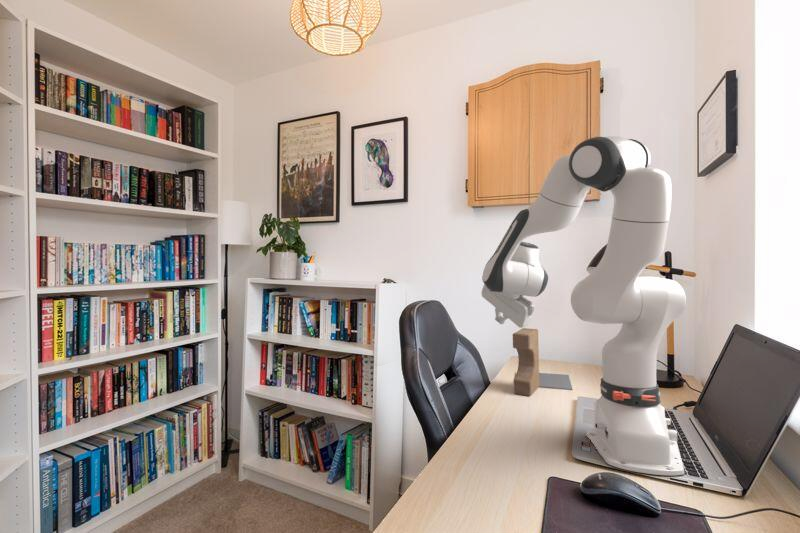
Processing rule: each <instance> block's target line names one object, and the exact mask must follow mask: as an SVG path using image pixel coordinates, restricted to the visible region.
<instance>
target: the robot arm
mask: <svg viewBox="0 0 800 533" xmlns="http://www.w3.org/2000/svg"><path fill="white" fill-rule="evenodd" d="M651 161H652V157H651V152H650V150H649V148H648V147H647V146H646V145H645V144H643V143H642V142H641V141H639V140H637V139H633V138H623V137H620V136H594V137H591V138H587V139H585V140H583V141H581V142H580V143H579V144H577V146H575V147H574V148H573V150H572V152H571V154H566V155H563V156H561V157H558V159H556V161H554V164H553V165H552V166H551V168H550V170H549V172H548V174H547V175H546V177H545V179H544V182H543V184H542V186H541V188H540V191H539V193H538V196H537V197H536V198H535V200H534V201H533V202H532V203H531V205H529V206H528V207H527V208H524V209H522V210H520V211H519V212H518V213H517V214H516V216H515V217H514V219H513V220H512V222H511V223H510V225H509V227H508V229H507V230H506V232H505V234H504V236H503V237H502V239H501V241H500V242H499V244H498V246H497V248H496V250H495V252H494V253H493V254H492V256H491V257H490V258H489V260H488V261H487V263H486V264H485V266H484V268H483V271H482V282H483V286H482V289H481V292H480V293H481V297H482V298H483V299H484V300H486V302H488V303H489V304H491V305H492V306H493V307H494V308H495V309H494V312H495V317H494V320H495V322H497V323H499V325H504V324H505V322H506V320H508V319H509V320H510V321H511V322H512V323H513V324H515V325H516V326H517V327H518V328H520V329H522V328H525V327H528V326H530V324H531V320H532V317H533V314H534V311H535V307H534V305H533V302H532V301H531V300H529V299H528V298H526V297H531V298H533V297H538V296H540V295H541V294H543V292H544V291H545V290H546V288H547V286H548V282H549V275H548V273H547V271H546V269H545V268H544V267H543V266H542V265H541V262H540V260H539V259H540V258H539V257H540V247H538V246H537V244H536V245H535V244H534V243H530V242H526V241H524V240H525V239H527V238H529V237H532V236H534V235H539V234H544V233H554V232H557V231H560V230H563V229H565V228H568V227H569V226H570V225H572V224H573V223H574V221H575V220H576V218H577V217H578V215H579V212H580V210H581V208H582V206H583V203H584V202H585V199H586V197H587V195H588V193H589V191H590V190H591V189H592V188H593V189H596V190H599V191H600V192H605V193H606V192H608V191H610V192H611V194H612V196H613V208H612V215H611V221H610V226H609V235H608V238H607V244H606V246H605V247H606V248H605V250H604V253H603V255H602V257H601V259H600V260H599V262H598V264H597V265H596V266H595V268H594V269H593V271H591V272H590V273H589V274H588V275H587V276H586V277H585V278H583V279H582V280H581V281H579V282H577V284H575V285H574V287H573V289H572V291H571V294H570V307H571V308H572V310H573V312H574V314H575V316H577V317H578V319H580V320H581V321H584V322H588V323H594V324H600V325H610V324H611V325H616V324H621V325H622V326H621V328H620V331H619V332H618V333H617V334H616V335H615V337H613V338H611V339H610V340H608V341H607V342H606V343H604V345H603V348H602V350H601V363H602V364H601V366H602V367H601V368H602V372H601V373H602V374H601V375H602V377H601V378H600V383H599V387H600V394H601V396H600V397H599V398H598V399H597V400H595V402H594V403H593V404H594V405H593V429H590V430H587V431H586V432H585V433H586V434H585V436H586V435H587V437H588V438H589V439H590V440H591V442H592V443H593V444H594V446H595V447H596V448H595V447H594V446H593V447H594V448H595V450H596V449H597V450H598V451H597V450H596V451H597V452H598V453H599V455H600V456H601V457H602V459H603V460H604V461H605V462H606V463H607V465H610V466H612V467H615V468H619V469H622V470H626V471H630V472H636V473H642V474H649V475H656V476H658V475H659V476H668V477H669V476H670V477H671V476H674V477H675V476H682V475H685V469H684V465H683V461H682V456H681V453H680V448H679V445H678V432H677V430H676V429H668V425H669V426H671V424H672V420H671V418H669V417H668V418H667V417H666V411H665V410H666V409H665V407H664V406H663V405H662V404H661V391H660V388H659V384H658V383H657V360H658V350H659V347H660V344H661V340H662V338H663V336H664V335H665V333H666V331H667V329H668V328H669V327H670V325H672V323H673V322H674V321H675V320H676V319H678V318H679V317H681V316H682V315H683V313H684V311H685V310H686V308H687V295H686V293H685V290H684V288H683V287H682V286H681V285H680V283H679V282H677V281H676V280H674V279H669V278H665V277H657V276H639V275H640V274H642V272H643V270H645V269H646V268H647V267H648V266H651V265H652V264H653V263H655V262H657V261H658V260H660V258H661V257H662V255H663V254H664V250H665V246H666V240H667V237H668V236H667V235H668V228H669V224H670V217H671V211H672V196H673V195H672V179H671V178H670V175H669V174H668V173H666V171H664V170H661V169H659V168H656V167H651V163H652V162H651ZM587 437H586V438H587ZM588 438H587V439H588ZM589 439H588V440H589ZM590 440H589V441H590ZM591 442H590V443H591ZM592 443H591V444H592ZM593 444H592V445H593Z"/></svg>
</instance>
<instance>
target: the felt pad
mask: <svg viewBox="0 0 800 533" xmlns="http://www.w3.org/2000/svg"><path fill="white" fill-rule="evenodd" d="M516 374H517V373H516V372H515V376H514V378H515V377H516ZM538 388H540V389H541V388H542V389H555V390H568V391H573V386H572V383H571V379H570V375H569V374H563V373H561V374H560V373H547V372H539V387H538Z"/></svg>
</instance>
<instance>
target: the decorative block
mask: <svg viewBox="0 0 800 533" xmlns="http://www.w3.org/2000/svg"><path fill="white" fill-rule="evenodd" d="M512 348H513V349H516V351H517V357H518V367H517V374H516V373H515V376H516V377H515V376H514V379H513V393H514V394H515V395H519V394H520V395H521V396H527V397H531V396H532V395H533V394H534V393H535V392H536V391H537V389H538V388H539V373H540V360H539V358H540V355H539V354H540V353H539V330H538V329H537V328H528V327H527V328H525V327H522V328H520V329H519V330H518V331H515V332H514V333H513V334H512Z"/></svg>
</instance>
